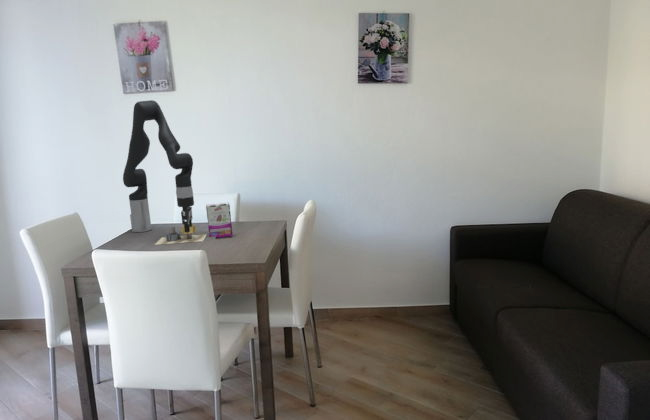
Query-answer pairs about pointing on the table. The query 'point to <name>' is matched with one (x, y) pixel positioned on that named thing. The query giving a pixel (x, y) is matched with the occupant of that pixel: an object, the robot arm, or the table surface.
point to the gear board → (182, 238)
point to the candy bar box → (219, 220)
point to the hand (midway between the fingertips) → (188, 230)
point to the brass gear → (192, 229)
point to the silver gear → (173, 237)
